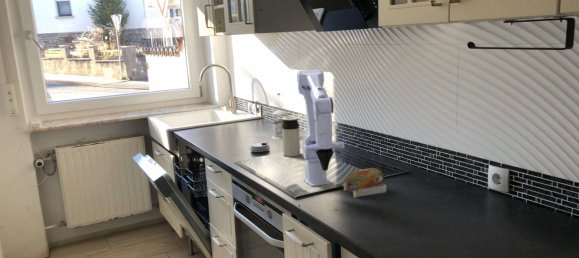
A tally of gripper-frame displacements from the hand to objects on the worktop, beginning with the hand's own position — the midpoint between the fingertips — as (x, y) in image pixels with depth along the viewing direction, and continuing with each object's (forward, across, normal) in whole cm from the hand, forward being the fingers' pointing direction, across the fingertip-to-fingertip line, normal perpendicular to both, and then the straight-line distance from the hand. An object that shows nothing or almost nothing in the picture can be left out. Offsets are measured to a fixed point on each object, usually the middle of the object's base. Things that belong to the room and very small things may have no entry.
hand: (324, 169), depth 170 cm
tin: (+10, +14, -2) cm, 18 cm away
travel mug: (+10, +8, +60) cm, 61 cm away
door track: (+9, +15, -2) cm, 17 cm away
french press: (+10, +16, +100) cm, 102 cm away
